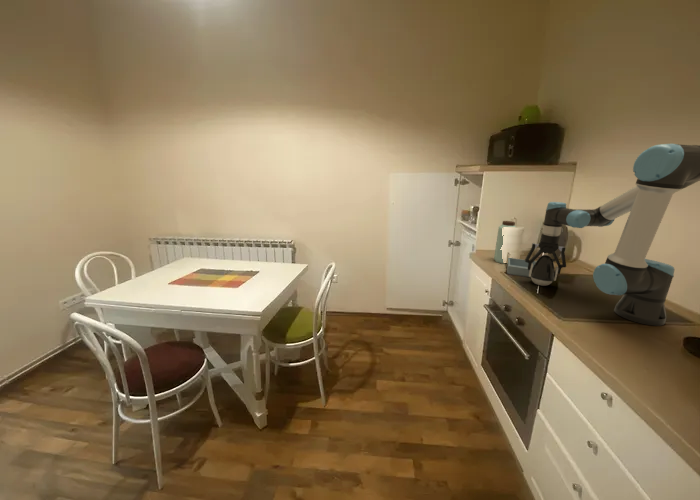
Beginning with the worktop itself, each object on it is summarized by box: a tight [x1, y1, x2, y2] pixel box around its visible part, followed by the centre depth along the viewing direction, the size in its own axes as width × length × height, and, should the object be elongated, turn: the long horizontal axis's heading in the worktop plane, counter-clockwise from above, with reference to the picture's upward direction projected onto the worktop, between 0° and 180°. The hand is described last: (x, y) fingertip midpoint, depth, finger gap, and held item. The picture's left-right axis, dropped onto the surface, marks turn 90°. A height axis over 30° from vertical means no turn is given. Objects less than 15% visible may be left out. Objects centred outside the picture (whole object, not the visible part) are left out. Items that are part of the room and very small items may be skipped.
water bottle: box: [493, 220, 516, 264], centre depth 190 cm, size 10×10×25 cm
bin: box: [506, 257, 537, 278], centre depth 174 cm, size 19×19×4 cm
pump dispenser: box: [530, 254, 560, 287], centre depth 155 cm, size 10×10×15 cm
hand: (541, 277), depth 156 cm, fingers closed on pump dispenser, 10 cm apart
